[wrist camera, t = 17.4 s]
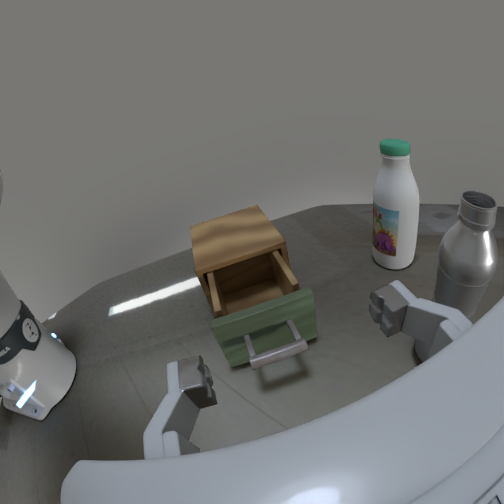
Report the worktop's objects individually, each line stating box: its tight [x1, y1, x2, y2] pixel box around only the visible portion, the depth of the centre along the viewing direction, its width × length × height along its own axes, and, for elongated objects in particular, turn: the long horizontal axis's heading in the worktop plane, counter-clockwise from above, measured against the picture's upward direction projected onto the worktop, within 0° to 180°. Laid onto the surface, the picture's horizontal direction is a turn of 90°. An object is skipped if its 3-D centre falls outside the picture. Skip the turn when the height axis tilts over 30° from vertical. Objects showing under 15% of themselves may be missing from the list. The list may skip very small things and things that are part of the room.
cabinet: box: [191, 205, 291, 318], centre depth 44 cm, size 15×13×10 cm
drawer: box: [207, 249, 317, 370], centre depth 34 cm, size 18×11×8 cm, turn 15°
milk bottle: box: [373, 139, 419, 269], centre depth 37 cm, size 8×8×20 cm
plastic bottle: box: [415, 190, 498, 362], centre depth 21 cm, size 6×7×20 cm
